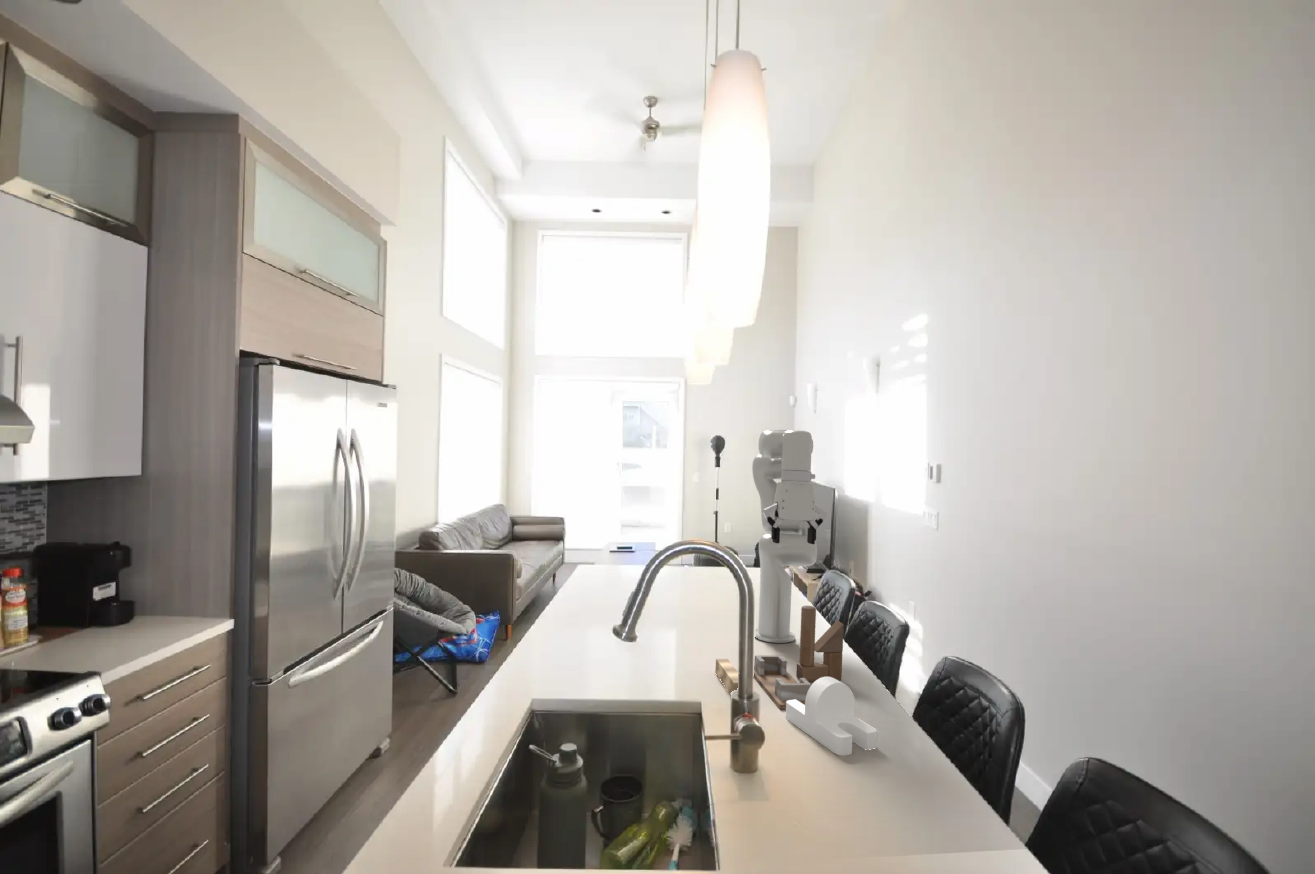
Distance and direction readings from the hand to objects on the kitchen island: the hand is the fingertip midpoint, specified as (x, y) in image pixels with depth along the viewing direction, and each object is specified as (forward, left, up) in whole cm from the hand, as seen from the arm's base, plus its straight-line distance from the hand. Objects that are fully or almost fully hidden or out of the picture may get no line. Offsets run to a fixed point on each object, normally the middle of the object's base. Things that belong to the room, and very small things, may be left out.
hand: (793, 543), depth 163 cm
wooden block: (+6, +6, -33) cm, 34 cm away
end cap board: (+12, -6, -33) cm, 36 cm away
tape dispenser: (+35, -4, -33) cm, 49 cm away
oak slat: (+10, -18, -33) cm, 39 cm away
